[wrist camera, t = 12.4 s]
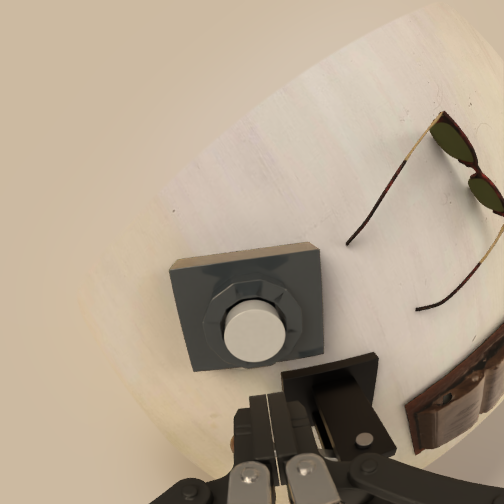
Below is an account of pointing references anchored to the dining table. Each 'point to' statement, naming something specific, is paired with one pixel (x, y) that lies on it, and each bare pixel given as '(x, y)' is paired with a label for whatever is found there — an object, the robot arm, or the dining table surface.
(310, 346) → the button housing
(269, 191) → the dining table surface
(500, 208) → the sunglasses
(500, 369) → the book
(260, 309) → the white push button
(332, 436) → the lever bracket
